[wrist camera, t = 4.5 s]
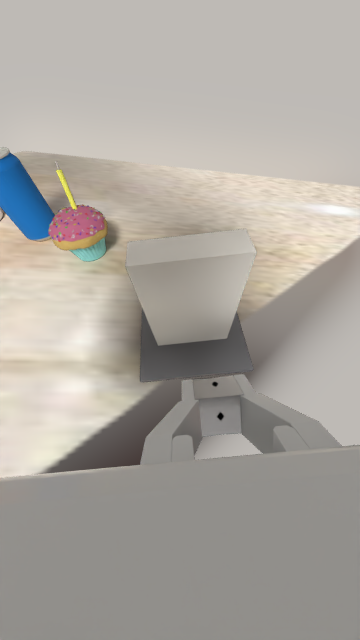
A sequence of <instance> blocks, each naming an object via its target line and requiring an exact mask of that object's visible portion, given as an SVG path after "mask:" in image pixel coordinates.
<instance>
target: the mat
mask: <svg viewBox="0 0 360 640" xmlns="http://www.w3.org/2000/svg"><path fill="white" fill-rule="evenodd" d="M253 370H254V369H253V365H252V362H251V359H250V355H249V352H248V349H247V345H246V342H245V338H244V335H243V331H242V328H241V325H240V321H239V318H238V315H237V311H236V314H235V316H234V319H233V322H232V325H231V328H230V331H229V334H228V337H227V339H217V340H208V341H198V342H189V343H179V344H169V345H160V346H158V344H157V342H156V339H155V337H154V335H153V332H152V330H151V327H150V325H149V323H148V320H147V318H146V315H145V313H144V311H143V308H142V329H141V363H140V382H151V381H161V380H170V379H180V378H190V377H199V376H209V375H219V374H229V373H238V372H249V371H253Z"/></svg>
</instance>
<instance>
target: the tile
mask: <svg viewBox="0 0 360 640" xmlns="http://www.w3.org/2000/svg"><path fill="white" fill-rule="evenodd" d="M256 253H257V251H256V249H255V247H254V245H253V243H252V240H251V238H250V236H249V234H248V232H247V230H246V229H238V230H229V231H220V232H211V233H202V234H193V235H184V236H175V237H166V238H157V239H148V240H139V241H130V242H128V244H127V254H126V264H125V267H126V270H127V272H128V274H129V277H130V279H131V282H132V284H133V286H134V289H135V291H136V294H137V296H138V298H139V301H140V303H141V306H142V308H143V311H144V313H145V315H146V318H147V320H148V323H149V325H150V327H151V330H152V332H153V335H154V337H155V339H156V342H157V344H158V346H160V345H169V344H179V343H189V342H198V341H208V340H217V339H227V337H228V334H229V331H230V328H231V325H232V322H233V319H234V316H235V314H236V311H237V308H238V305H239V302H240V299H241V296H242V293H243V290H244V288H245V285H246V282H247V279H248V276H249V273H250V270H251V267H252V265H253V262H254V259H255V256H256Z"/></svg>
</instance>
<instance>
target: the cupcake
mask: <svg viewBox="0 0 360 640" xmlns="http://www.w3.org/2000/svg"><path fill="white" fill-rule="evenodd" d="M55 163H56V166H57V169H58V170H56V172H57V174H58V176H59V179H60V181H61V183H62V185H63V188H64V190H65V192H66V195H67V197H68V199H69V202H70V204H71V206H72V207H69V208H66V207H65V208H63V209H61V210H59V212H58V213H57V214H55V216H54V218H53V220H51V222H50V223H51V224H49V226H50V227H49V230H48V231H49V233H48V234H49V235H50V236H51V238H52V241H53V242H54V244H55V245H56V246H57V247H58V248H60V249H62V250H69V251H71V252H72V253H74V254H75V255H76V256H77V257H79V258H80V259H81V260H83V261H94V260H97V259H99V258H100V257H102V256H103V255H104V254H105V252H106V245H105V236H106V235H107V222H106V220H105V217H104V215H103V214H102V213H101V212H99V211H98V210H97V209H94V208H92V207H89V206H84V205H76V204H75V201H74V199H73V196H72V194H71V192H70V189H69V187H68V184H67V182H66V179H65V177H64V175H63V172H62V170H59V166H58V164H57V161H55Z"/></svg>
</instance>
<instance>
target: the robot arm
mask: <svg viewBox="0 0 360 640" xmlns="http://www.w3.org/2000/svg"><path fill="white" fill-rule="evenodd" d="M192 380H193V382H192ZM238 433H242V435H244V436H245V437H246V438H247V439H248V440H249V441H250V442H251V443H252V444H253V445H254V446H255V447H256V448H257V449H258V450H260V451H261V452H262V453H263V454H256V455H245V456H233V457H222V458H213V459H201V460H195V458H194V456H195V453H196V451H197V449H198V447H199V445H200V442H201V440H202V437H205V436H213V435H221V434H238ZM0 640H360V445H352V446H342V445H341V444H340V443H339V442H337V440H336V439H335V438H334V437H333V436H332V435H331V434H330V433H329V432H328V431H327V430H326V429H325V428H324V427H323V426H322V425H321V424H320V423H319V421H316V420H314V419H312V418H310V417H308V416H306V415H304V414H302V413H300V412H298V411H296V410H294V409H292V408H290V407H288V406H285V405H283V404H281V403H279V402H277V401H275V400H273V399H271V398H269V397H267V396H265V395H263V394H260V393H258V394H257V393H256V391H255V390H254V389H253V387H252V386H251V384H250V383H249V381H248V380H247V378H246V377H245V375H244V374H237V375H230V376H222V377H214V378H200V379H188V380H182V401H179V402H178V403H177V404H176V405H175V406H174V407H173V409H172V410H171V411H170V412H169V413H168V414H167V415H166V416H165V417H164V418H163V419H162V421H161V422H160V423H159V424H158V425H157V426H156V427H155V428H154V429H153V430H152V431H151V433H150V434H149V435H148V436H147V437H146V440H145V444H144V449H143V454H142V459H141V463H140V465H135V466H126V467H115V468H103V469H92V470H81V471H70V472H59V473H48V474H37V475H26V476H16V477H5V478H0Z"/></svg>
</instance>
